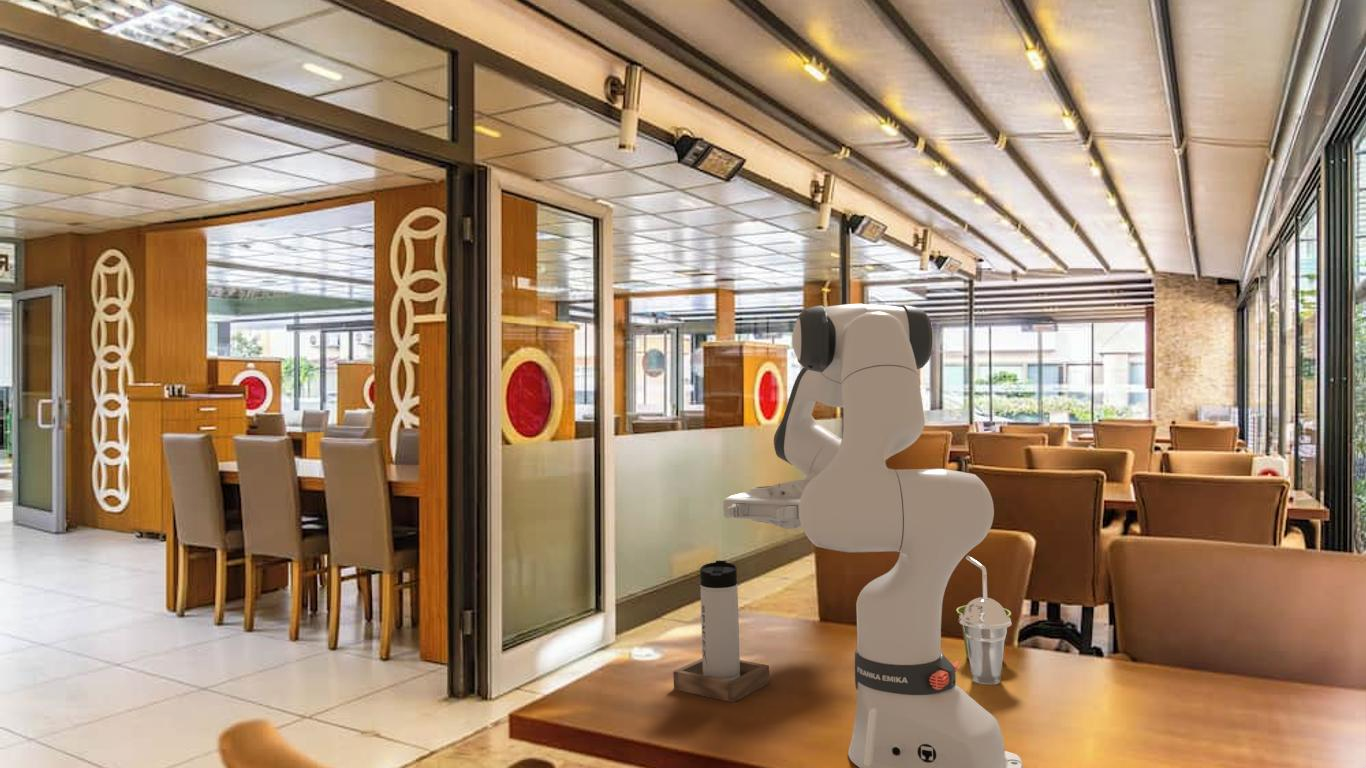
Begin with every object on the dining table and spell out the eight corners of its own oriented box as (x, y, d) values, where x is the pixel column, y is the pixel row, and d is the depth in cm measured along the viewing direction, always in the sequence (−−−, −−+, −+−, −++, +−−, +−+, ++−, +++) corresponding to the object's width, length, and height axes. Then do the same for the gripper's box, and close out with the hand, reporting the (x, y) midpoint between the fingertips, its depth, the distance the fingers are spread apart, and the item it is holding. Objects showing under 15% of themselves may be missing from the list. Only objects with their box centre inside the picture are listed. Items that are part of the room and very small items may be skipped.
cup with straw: (961, 687, 153) (958, 566, 153) (958, 670, 162) (955, 555, 162) (1015, 690, 151) (1012, 567, 151) (1010, 672, 160) (1007, 556, 160)
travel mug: (742, 676, 160) (739, 560, 160) (737, 689, 153) (734, 568, 153) (706, 675, 161) (703, 560, 161) (700, 688, 154) (696, 568, 154)
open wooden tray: (769, 683, 158) (768, 665, 158) (733, 702, 149) (732, 683, 149) (711, 671, 165) (710, 654, 165) (673, 689, 156) (673, 671, 156)
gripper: (842, 524, 170) (804, 534, 159) (748, 519, 182) (707, 528, 171) (840, 489, 170) (802, 497, 159) (747, 487, 183) (705, 494, 172)
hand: (752, 513), depth 165 cm, fingers open, 8 cm apart
